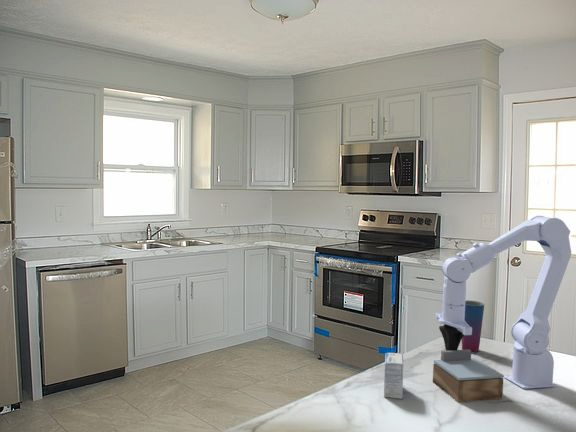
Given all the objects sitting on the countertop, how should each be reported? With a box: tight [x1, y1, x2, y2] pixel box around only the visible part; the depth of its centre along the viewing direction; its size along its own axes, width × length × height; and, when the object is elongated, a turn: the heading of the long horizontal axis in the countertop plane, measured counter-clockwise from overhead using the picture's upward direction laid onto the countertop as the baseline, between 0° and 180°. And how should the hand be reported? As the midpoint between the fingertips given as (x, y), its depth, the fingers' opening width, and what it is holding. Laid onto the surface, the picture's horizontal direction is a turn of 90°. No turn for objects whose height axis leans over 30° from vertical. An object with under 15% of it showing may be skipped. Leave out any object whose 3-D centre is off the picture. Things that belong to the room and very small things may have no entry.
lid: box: [433, 349, 505, 381], centre depth 126 cm, size 12×12×3 cm
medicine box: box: [383, 352, 404, 400], centre depth 124 cm, size 8×4×9 cm, turn 168°
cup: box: [461, 299, 485, 354], centre depth 157 cm, size 7×7×15 cm
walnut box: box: [432, 363, 504, 403], centre depth 126 cm, size 12×12×5 cm
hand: (451, 353), depth 133 cm, fingers closed
